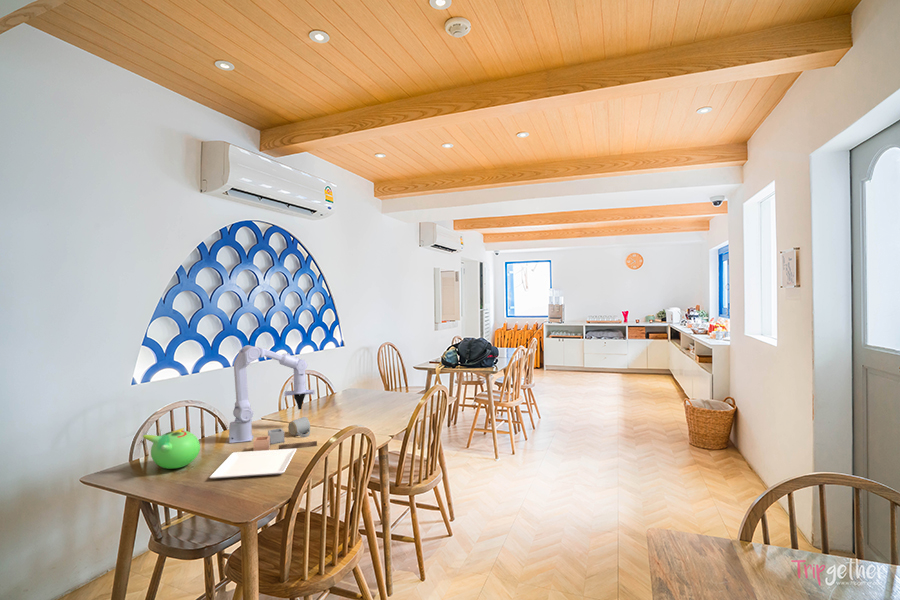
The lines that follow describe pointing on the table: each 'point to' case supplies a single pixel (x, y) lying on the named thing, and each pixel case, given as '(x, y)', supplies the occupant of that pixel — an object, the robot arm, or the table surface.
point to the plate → (254, 463)
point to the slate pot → (276, 436)
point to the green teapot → (174, 448)
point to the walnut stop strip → (298, 445)
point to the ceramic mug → (299, 427)
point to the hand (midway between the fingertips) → (299, 408)
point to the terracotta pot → (262, 443)
